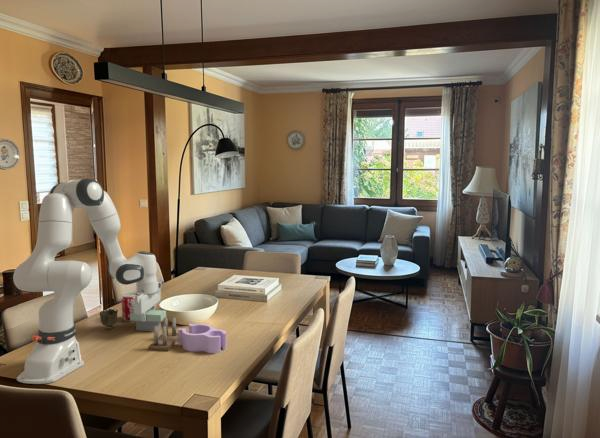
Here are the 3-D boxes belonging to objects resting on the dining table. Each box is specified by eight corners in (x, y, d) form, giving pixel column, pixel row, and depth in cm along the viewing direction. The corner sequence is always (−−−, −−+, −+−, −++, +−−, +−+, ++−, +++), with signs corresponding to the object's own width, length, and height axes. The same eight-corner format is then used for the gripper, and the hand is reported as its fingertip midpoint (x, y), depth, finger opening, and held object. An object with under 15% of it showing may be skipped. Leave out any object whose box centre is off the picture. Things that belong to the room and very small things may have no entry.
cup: (96, 329, 204) (95, 312, 203) (110, 324, 211) (109, 307, 210) (108, 332, 201) (107, 315, 200) (121, 327, 207) (121, 310, 206)
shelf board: (166, 317, 206) (166, 310, 206) (160, 321, 200) (160, 315, 200) (136, 315, 208) (136, 309, 207) (130, 320, 202) (129, 313, 201)
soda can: (141, 317, 219) (140, 293, 218) (132, 322, 213) (131, 297, 211) (128, 316, 221) (127, 292, 220) (119, 321, 215) (118, 296, 213)
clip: (232, 345, 188) (232, 329, 187) (213, 357, 177) (213, 340, 176) (194, 337, 197) (193, 321, 196) (173, 347, 186) (173, 331, 185)
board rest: (158, 331, 203) (157, 320, 202) (136, 330, 204) (136, 319, 203) (161, 328, 206) (160, 317, 205) (139, 327, 207) (139, 317, 206)
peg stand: (167, 351, 182) (167, 329, 181) (148, 350, 183) (147, 328, 181) (181, 336, 197) (180, 316, 195) (163, 335, 197) (162, 315, 196)
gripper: (143, 294, 192) (144, 326, 193) (163, 281, 212) (164, 310, 214) (129, 294, 192) (130, 325, 194) (150, 281, 212) (151, 310, 214)
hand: (148, 317), depth 204 cm, fingers open, 7 cm apart
